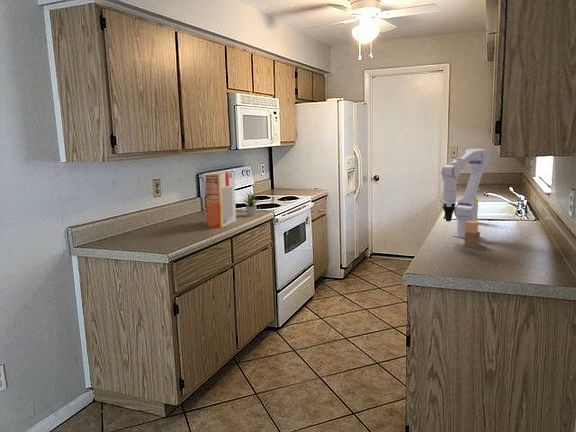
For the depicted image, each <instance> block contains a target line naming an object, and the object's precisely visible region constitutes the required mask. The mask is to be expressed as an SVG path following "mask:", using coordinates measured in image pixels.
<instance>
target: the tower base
mask: <svg viewBox="0 0 576 432" xmlns="http://www.w3.org/2000/svg"><path fill="white" fill-rule="evenodd" d="M464 247H469V248H470V247H472V248H479V247H480V240H479V241H469V240H465V239H464Z"/></svg>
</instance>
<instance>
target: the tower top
mask: <svg viewBox="0 0 576 432" xmlns="http://www.w3.org/2000/svg"><path fill="white" fill-rule="evenodd" d="M480 236H481V231H478V232H477V233H476V234H471V233H465V238H464V241H465V240H469V241H479V242H480Z"/></svg>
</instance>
